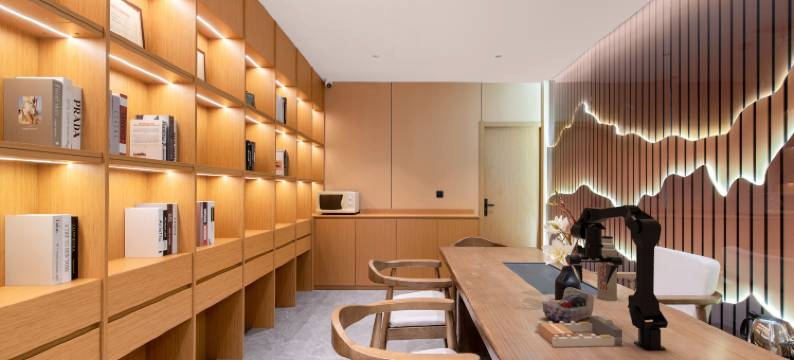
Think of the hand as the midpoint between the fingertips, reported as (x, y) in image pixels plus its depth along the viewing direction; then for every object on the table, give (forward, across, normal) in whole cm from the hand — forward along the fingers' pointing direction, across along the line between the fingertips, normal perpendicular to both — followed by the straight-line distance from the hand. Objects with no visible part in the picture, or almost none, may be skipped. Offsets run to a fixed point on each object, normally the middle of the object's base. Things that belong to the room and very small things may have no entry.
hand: (593, 283), depth 163 cm
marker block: (+15, +19, +20) cm, 31 cm away
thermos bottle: (+14, -18, -37) cm, 43 cm away
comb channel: (+14, +12, +19) cm, 27 cm away
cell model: (+15, +9, -3) cm, 17 cm away
